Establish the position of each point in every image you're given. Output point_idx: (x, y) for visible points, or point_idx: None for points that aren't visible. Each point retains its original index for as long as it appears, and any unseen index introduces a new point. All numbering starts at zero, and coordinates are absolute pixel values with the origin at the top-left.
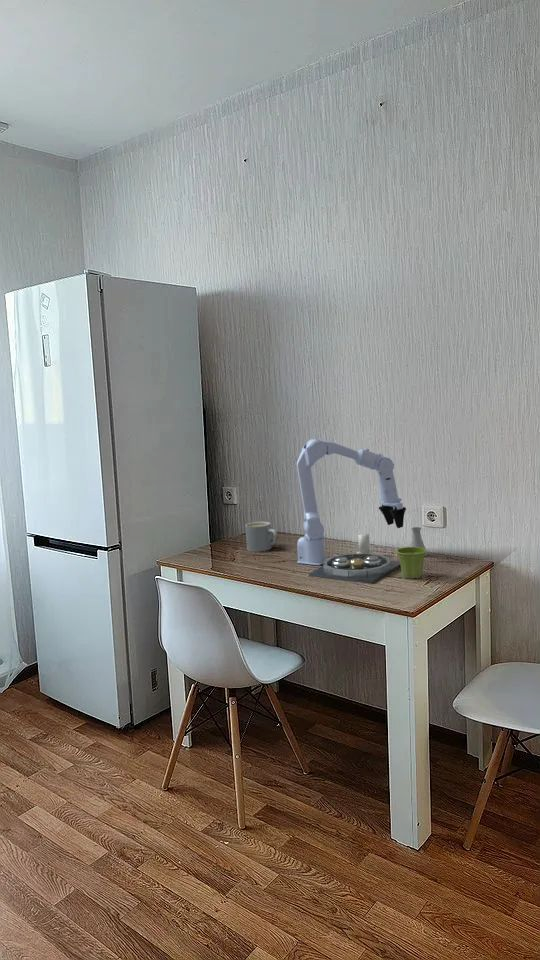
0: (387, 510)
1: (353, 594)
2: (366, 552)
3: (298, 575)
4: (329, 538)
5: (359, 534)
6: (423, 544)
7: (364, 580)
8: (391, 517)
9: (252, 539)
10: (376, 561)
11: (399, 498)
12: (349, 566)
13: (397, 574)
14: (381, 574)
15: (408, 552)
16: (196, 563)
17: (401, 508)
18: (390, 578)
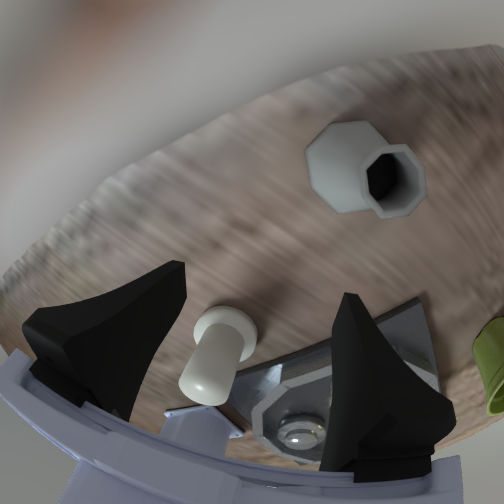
0: (125, 370)
1: (443, 441)
2: (243, 348)
3: (283, 465)
4: (19, 270)
5: (182, 391)
6: (383, 143)
7: None
8: (158, 299)
9: None
10: None
11: (123, 478)
12: (325, 421)
13: (455, 357)
14: None
15: (501, 369)
16: None
17: (448, 465)
18: (456, 380)
